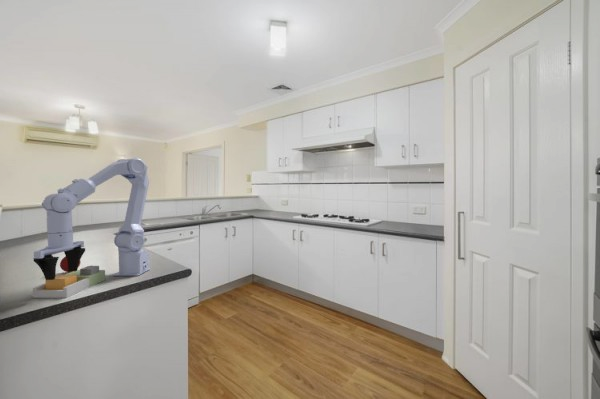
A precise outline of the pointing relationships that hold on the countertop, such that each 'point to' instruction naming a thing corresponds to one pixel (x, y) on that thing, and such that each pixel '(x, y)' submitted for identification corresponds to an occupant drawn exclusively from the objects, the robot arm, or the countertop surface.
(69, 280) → the orange block
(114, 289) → the countertop surface
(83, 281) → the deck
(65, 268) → the onion
